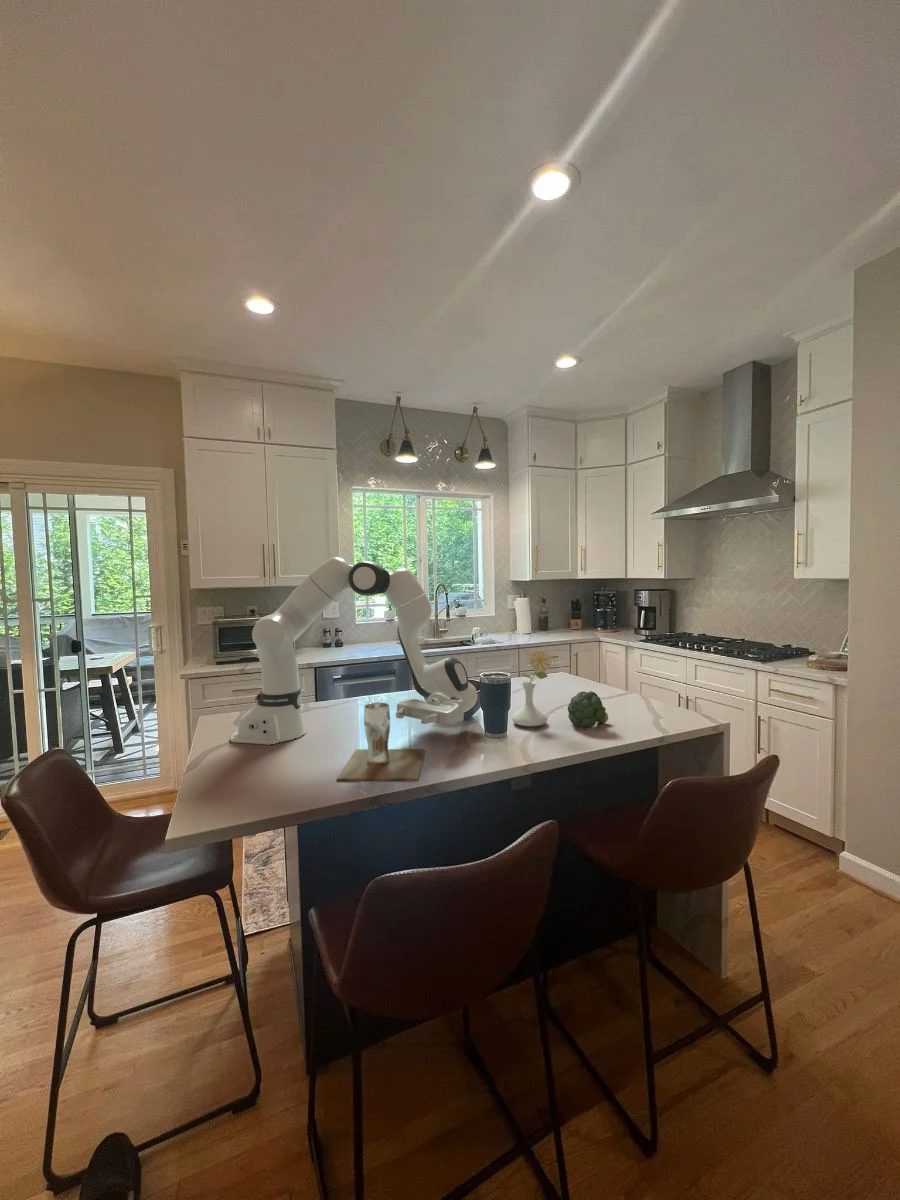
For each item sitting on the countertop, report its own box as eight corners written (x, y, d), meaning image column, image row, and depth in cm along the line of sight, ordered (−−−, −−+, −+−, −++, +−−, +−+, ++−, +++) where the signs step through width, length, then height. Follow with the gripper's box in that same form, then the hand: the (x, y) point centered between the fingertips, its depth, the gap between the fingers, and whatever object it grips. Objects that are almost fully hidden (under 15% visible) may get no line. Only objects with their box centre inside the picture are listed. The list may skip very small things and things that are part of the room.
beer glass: (362, 765, 129) (360, 709, 128) (368, 755, 136) (366, 702, 135) (388, 765, 129) (387, 709, 128) (393, 755, 136) (391, 701, 135)
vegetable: (626, 722, 156) (595, 708, 148) (596, 745, 161) (565, 732, 154) (610, 693, 165) (581, 678, 158) (582, 715, 170) (553, 702, 163)
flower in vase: (513, 729, 158) (512, 652, 156) (510, 719, 169) (509, 646, 168) (554, 729, 157) (554, 651, 156) (549, 718, 169) (548, 645, 167)
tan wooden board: (336, 781, 122) (336, 778, 122) (355, 751, 142) (355, 749, 141) (417, 780, 121) (417, 778, 121) (425, 751, 141) (425, 749, 141)
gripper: (413, 692, 156) (383, 702, 145) (467, 700, 144) (438, 712, 133) (414, 711, 157) (383, 723, 145) (467, 722, 144) (438, 735, 133)
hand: (410, 718), depth 139 cm, fingers open, 8 cm apart
